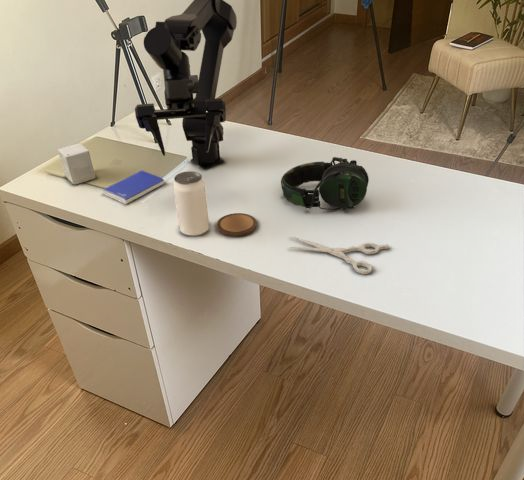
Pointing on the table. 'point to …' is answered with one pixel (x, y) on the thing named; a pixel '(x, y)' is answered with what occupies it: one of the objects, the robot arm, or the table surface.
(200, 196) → the can
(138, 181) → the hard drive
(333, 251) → the scissors
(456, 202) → the table surface
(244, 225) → the coaster
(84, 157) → the product box
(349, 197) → the headphones
